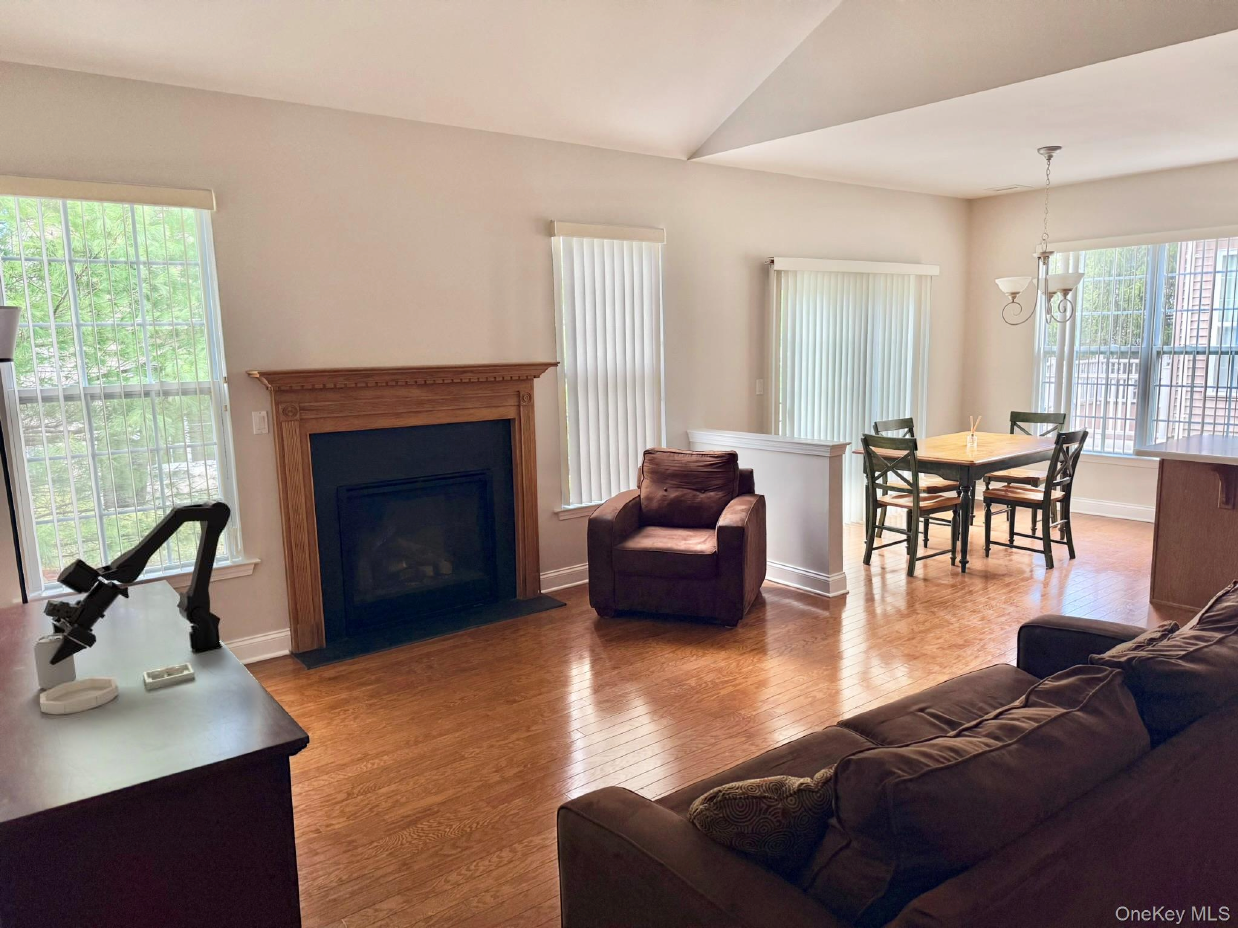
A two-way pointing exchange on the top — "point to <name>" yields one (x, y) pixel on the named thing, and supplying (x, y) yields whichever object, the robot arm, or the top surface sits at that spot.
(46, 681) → the can
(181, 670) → the pebbles
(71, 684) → the bowl
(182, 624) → the top surface
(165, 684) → the pebble tray
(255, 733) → the top surface
